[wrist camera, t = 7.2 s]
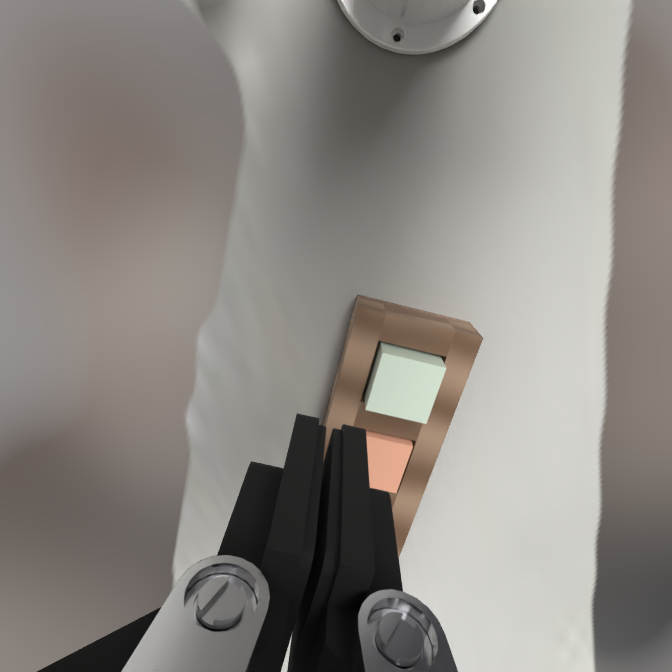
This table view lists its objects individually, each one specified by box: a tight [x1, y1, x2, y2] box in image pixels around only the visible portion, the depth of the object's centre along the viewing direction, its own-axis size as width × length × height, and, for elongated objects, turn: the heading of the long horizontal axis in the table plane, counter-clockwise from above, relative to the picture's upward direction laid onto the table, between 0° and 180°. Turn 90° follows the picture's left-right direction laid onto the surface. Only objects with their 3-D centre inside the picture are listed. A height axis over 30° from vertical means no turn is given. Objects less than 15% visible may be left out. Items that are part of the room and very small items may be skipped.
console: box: [323, 295, 483, 558], centre depth 40 cm, size 32×10×4 cm, turn 166°
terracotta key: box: [366, 430, 413, 493], centre depth 38 cm, size 5×5×3 cm
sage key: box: [364, 341, 446, 424], centre depth 35 cm, size 5×5×3 cm
